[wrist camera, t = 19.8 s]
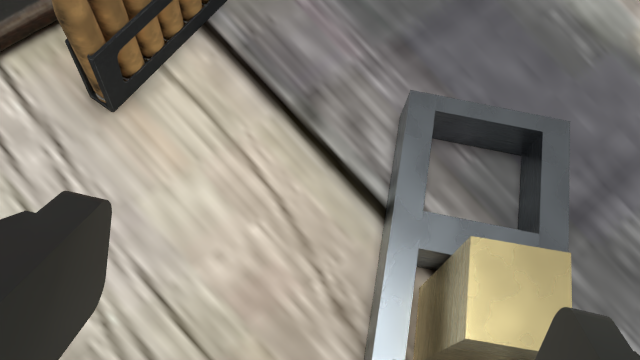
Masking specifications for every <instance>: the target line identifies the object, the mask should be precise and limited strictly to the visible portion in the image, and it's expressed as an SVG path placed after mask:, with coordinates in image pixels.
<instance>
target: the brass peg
mask: <svg viewBox="0 0 640 360" xmlns="http://www.w3.org/2000/svg"><path fill="white" fill-rule="evenodd" d="M563 307H569V308H572V286H571V253H567V252H562V251H556V250H550V249H544V248H538V247H533V246H527V245H521V244H515V243H509V242H504V241H498V240H492V239H486V238H480V237H474V236H470V237H469V238H468V239H467V240H466V241H465V242H464V243H463V244H462V245H461V246H460V247H459V249H458V250H457V251H456V252H455V253H454V254H453V255H452V256H451V257H450V258H449V259H448V260H447V261H446V262H445V263H444V264H443V265H442V266H441V267H440V268H439V269H438V270H437V271H436V272H435V273H434V274H433V275H432V276H431V277H430V278H429V279H428V280H427V281H426V282H425V283H424V284H423V285H422V286H421V287H420V288H419V300H418V311H417V322H416V333H415V345H414V356H413V360H535V358H536V356H537V354H538V351H539V349H540V347H541V345H542V342H543V340H544V338H545V336H546V333H547V331H548V329H549V327H550V324H551V322H552V320H553V318H554V316H555V314H556V313H557V312H558V311H559V310H560V309H561V308H563Z"/></svg>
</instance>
